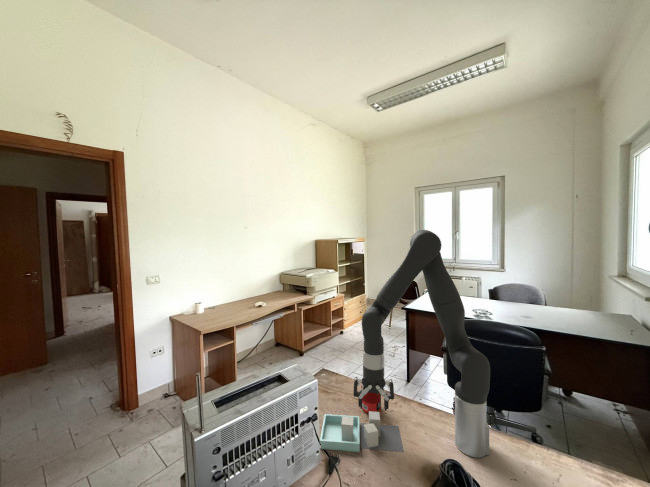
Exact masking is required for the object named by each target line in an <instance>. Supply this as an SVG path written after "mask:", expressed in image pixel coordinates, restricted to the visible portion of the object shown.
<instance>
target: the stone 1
mask: <svg viewBox="0 0 650 487" xmlns="http://www.w3.org/2000/svg"><path fill="white" fill-rule="evenodd" d="M341 430H342V441H349V442H353V438H354V424H353V417H343V416H342V423H341Z"/></svg>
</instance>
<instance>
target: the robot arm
mask: <svg viewBox="0 0 650 487" xmlns="http://www.w3.org/2000/svg"><path fill="white" fill-rule="evenodd" d="M410 238H411V239H410V242H409V246H410V247H409V250H408V252H407V254H406V256H405V258H404V260H403V261H402V262H401V263H400V266H399V267H398V268H397V269H396V270H395V272H394V273H393V274H392V275H391V276H390V277H389V279H387V281H386V282H385V283H384V285H383V287H382V288H381V289H380V291H379V292H378V294H377V295H376V299H374V302H373V303H372V304H371V305H370V307H369V308H368V309H367V310H366V311H365V312H364V313H363V315H362V317H361V329H362V336H363V354H362V355H363V356H362V378H358V377H357V376H355V377H354V379H353V380H354V381H353V397H354V398H356V397H357V398H358V402H357V403H358V408H359V409H362V397H363V396H364V395H366V393H367V392H369V393H377V394H378V393H379V392H380V394H381V397H383V410H384V411H388V410H389V406H390V405H389V404H390V403H389V402H390V400H392V401H393V400H394V399H395V389H394V388H395V387H394V381H393V379H391V378H390V379H389V380H385V354H384V353H385V352H384V351H385V350H384V347H385V345H384V344H385V342H384V341H385V340H384V337H383V336H382V325H383V324H384V323H385V321H386V319H387V318H388V317H389V315H390V313H391V312H392V310H393V309H394V308H395V307H396V305H397V304H398V303H399V302H400V300H401V298H403V296H404V295H405V293H406V292H407V290H408V288H409V287H410V286H411V284H412V283H413V282H414V280H415V279H416V278H417V277H418V275H420V273H421V272H422V274H423V277H424V282H425V287H426V290H427V294H428V296H429V300H430V303H431V306H432V307H433V310H434V314H435V316H436V318H437V321H438V324H439V326H440V328H441V330H442V333H443V335H444V339H445V342H446V347H447V350H448V354H449V358H450V360H451V363H452V365H453V366H454V367H455V368H456V369H457V370H458V371H459V372H460V373H461V374H460V375H461V376H460V377H461V380H460V381H457V382H455V384H454V429H455V430H454V441H455V442H454V443H455V446H456V447H457V448H458V449H459V451H461V452H462V453H463V454H464V455H467V456H469V457H472V458H477V459H479V458H484V457H485V456H490V425H489V424H488V423H489V422H487V398H488V395H489V392H490V385H491V383H490V382H491V364H490V362H489V359H488V358H487V357H486V356H485V354H483V353H482V352H481V351H479V350H478V349H476V348H475V347H474V346H473V345H472V343H471V342H470V339H469V337H468V334H467V332H466V328H465V319H466V318H465V317H466V312H465V311H466V310H465V307H464V304H463V300H462V299H461V296H460V293H459V290H458V289H457V286H456V284H455V282H454V281H453V279H452V277H451V274H449V271H448V270H447V268H446V266H445V264H444V261H443V258H442V257H443V256H442V254H441V250H442V241H441V238H440V237H439V236H438V235H437V234H436V233H435V232H433V231H431V230H429V229H420V230H417V231H415V232H414V234H412V236H411V237H410ZM361 383H362V384H363V387H362V389H360V390H359V391H358V387H359V386H361ZM386 386H387V387H388V388H389V393H387V391H386V389H385V387H386Z"/></svg>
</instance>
